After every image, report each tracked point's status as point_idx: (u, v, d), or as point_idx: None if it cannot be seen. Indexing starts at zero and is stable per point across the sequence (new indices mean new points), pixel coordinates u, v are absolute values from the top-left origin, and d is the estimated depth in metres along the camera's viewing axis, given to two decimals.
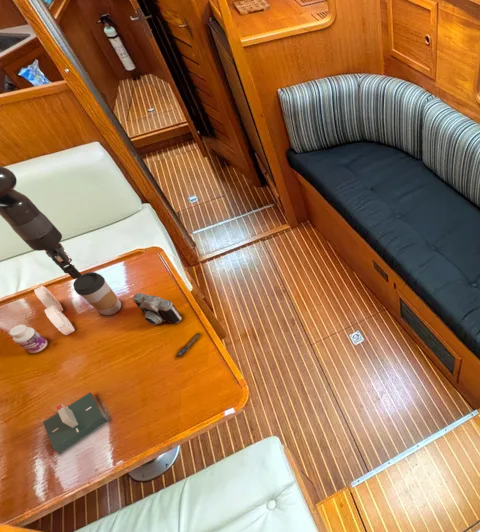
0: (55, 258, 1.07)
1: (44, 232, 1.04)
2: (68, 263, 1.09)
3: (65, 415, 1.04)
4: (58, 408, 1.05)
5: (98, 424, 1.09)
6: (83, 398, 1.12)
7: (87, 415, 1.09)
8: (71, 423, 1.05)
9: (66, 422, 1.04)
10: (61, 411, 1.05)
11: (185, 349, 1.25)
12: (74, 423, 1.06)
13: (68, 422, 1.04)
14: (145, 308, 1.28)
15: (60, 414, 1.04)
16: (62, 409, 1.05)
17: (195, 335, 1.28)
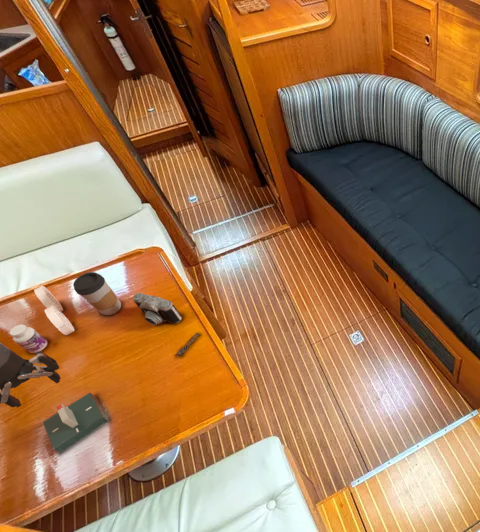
0: None
1: None
2: None
3: (65, 415, 1.04)
4: (58, 408, 1.05)
5: (98, 424, 1.09)
6: (83, 398, 1.12)
7: (87, 415, 1.09)
8: (71, 423, 1.05)
9: (66, 422, 1.04)
10: (61, 411, 1.05)
11: (185, 348, 1.25)
12: (74, 423, 1.06)
13: (68, 422, 1.04)
14: (145, 308, 1.28)
15: (60, 414, 1.04)
16: (62, 409, 1.05)
17: (195, 334, 1.28)
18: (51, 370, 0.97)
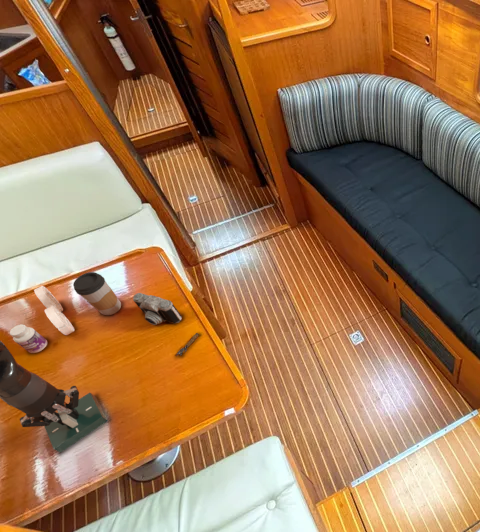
0: None
1: None
2: None
3: (65, 415, 1.04)
4: None
5: (98, 424, 1.09)
6: (83, 398, 1.12)
7: (87, 415, 1.09)
8: (71, 423, 1.05)
9: (66, 422, 1.04)
10: None
11: (185, 348, 1.25)
12: (74, 423, 1.06)
13: (68, 422, 1.04)
14: (145, 308, 1.28)
15: (60, 414, 1.04)
16: None
17: (195, 334, 1.28)
18: (71, 408, 1.05)
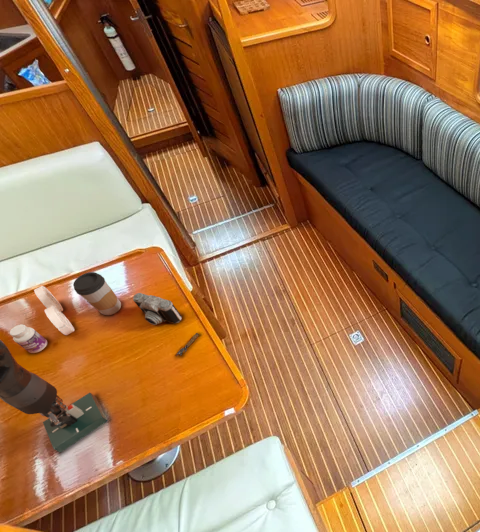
0: None
1: None
2: None
3: None
4: (68, 407, 1.05)
5: (98, 424, 1.09)
6: (83, 398, 1.12)
7: (87, 415, 1.09)
8: None
9: None
10: None
11: (185, 348, 1.25)
12: None
13: None
14: (145, 308, 1.28)
15: None
16: None
17: (195, 334, 1.28)
18: None
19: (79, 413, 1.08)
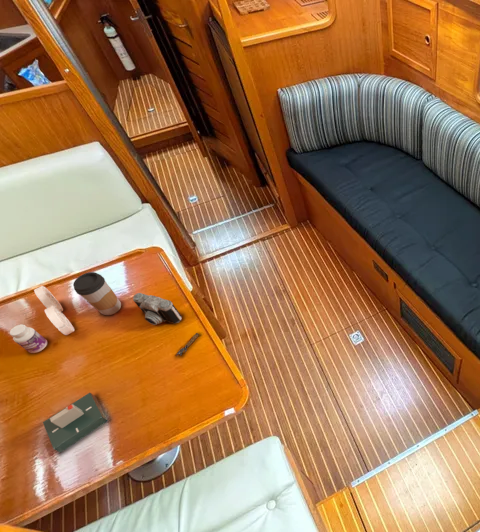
0: None
1: None
2: None
3: (56, 417, 1.03)
4: (68, 407, 1.05)
5: (98, 424, 1.09)
6: (83, 398, 1.12)
7: (87, 415, 1.09)
8: None
9: None
10: (64, 411, 1.05)
11: (185, 348, 1.25)
12: None
13: None
14: (145, 308, 1.28)
15: (60, 412, 1.04)
16: (66, 411, 1.05)
17: (195, 334, 1.28)
18: None
19: (79, 413, 1.08)
